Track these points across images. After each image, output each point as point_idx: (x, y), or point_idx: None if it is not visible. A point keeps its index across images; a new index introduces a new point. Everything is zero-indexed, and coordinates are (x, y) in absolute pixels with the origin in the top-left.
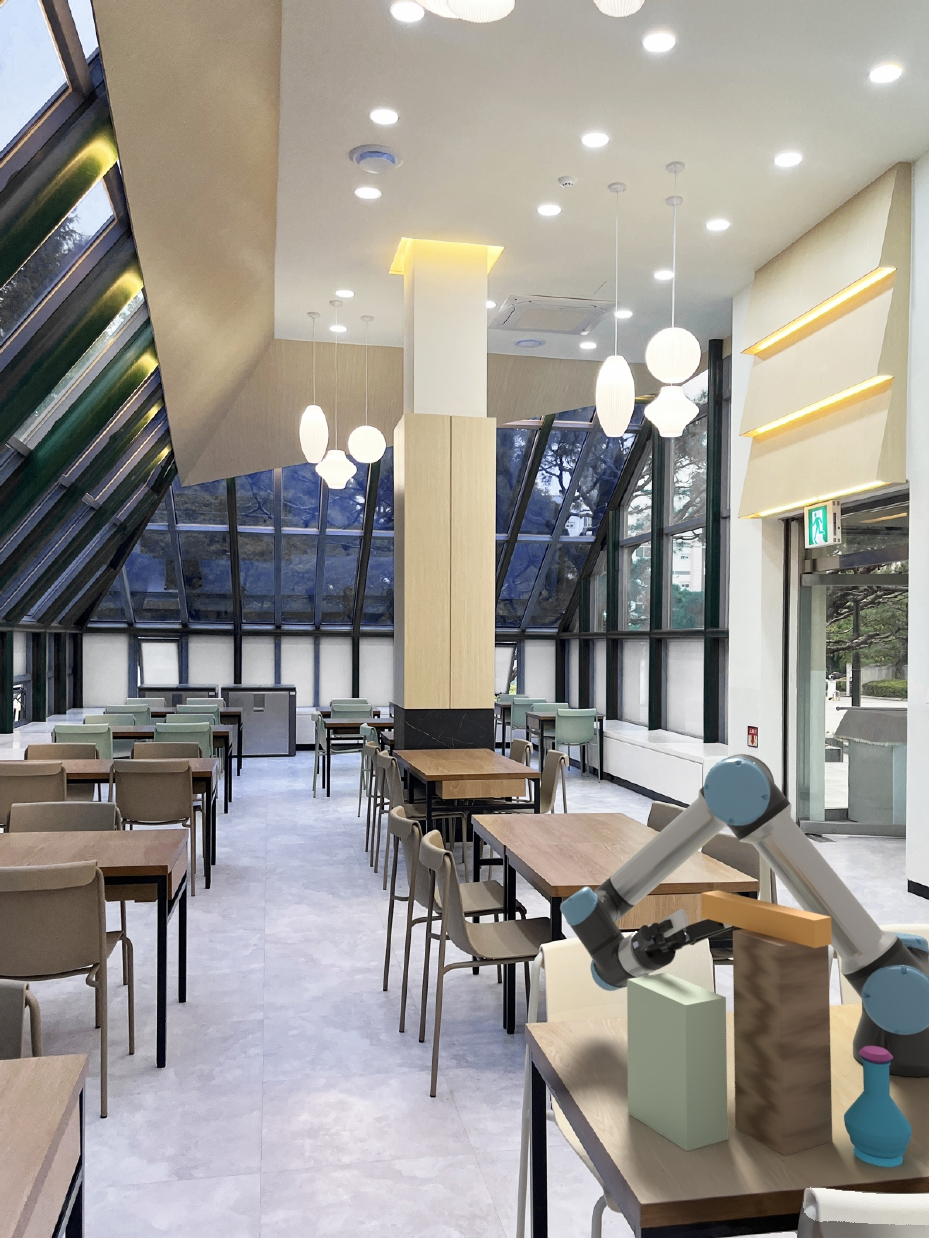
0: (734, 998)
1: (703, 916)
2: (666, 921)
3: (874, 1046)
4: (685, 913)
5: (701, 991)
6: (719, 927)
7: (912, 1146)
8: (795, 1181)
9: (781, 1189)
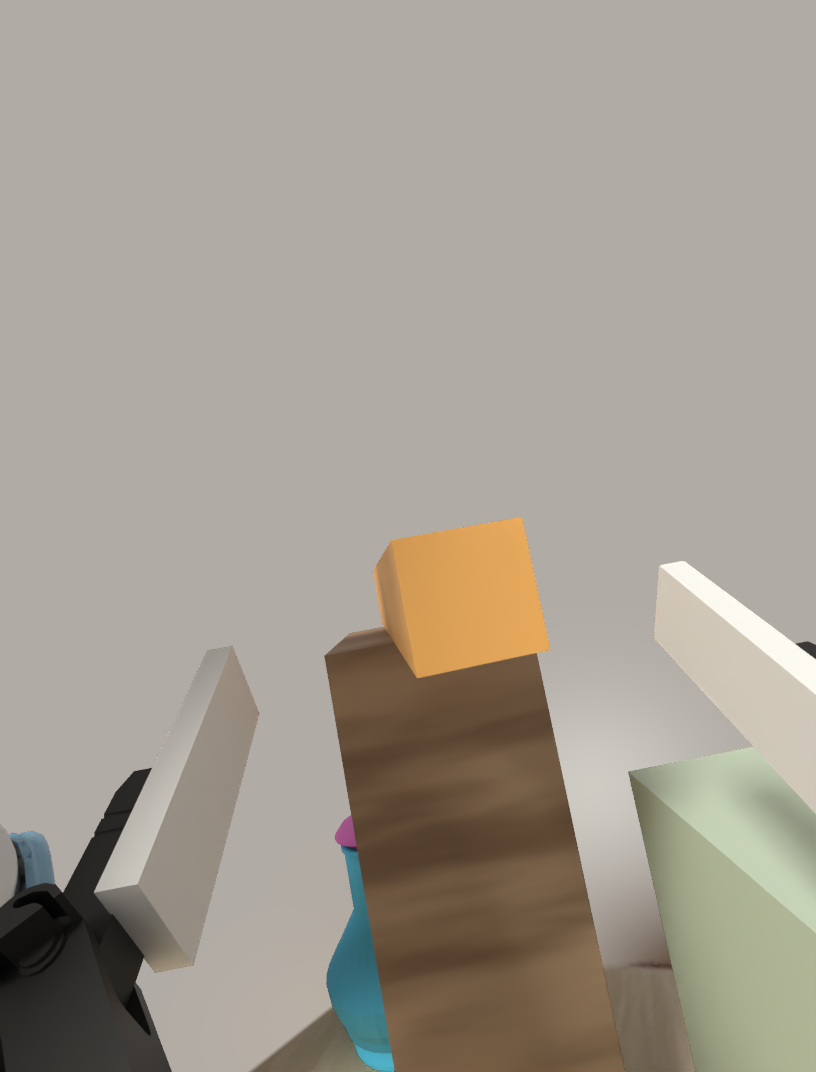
0: (575, 838)
1: (544, 641)
2: (807, 650)
3: (346, 831)
4: (661, 588)
5: (700, 801)
6: (156, 1045)
7: (308, 1037)
8: (613, 985)
9: (652, 969)
